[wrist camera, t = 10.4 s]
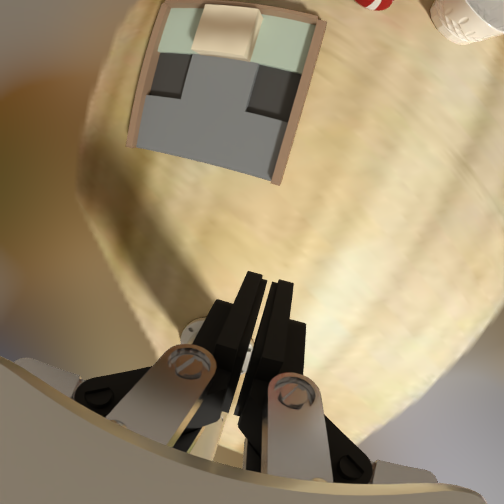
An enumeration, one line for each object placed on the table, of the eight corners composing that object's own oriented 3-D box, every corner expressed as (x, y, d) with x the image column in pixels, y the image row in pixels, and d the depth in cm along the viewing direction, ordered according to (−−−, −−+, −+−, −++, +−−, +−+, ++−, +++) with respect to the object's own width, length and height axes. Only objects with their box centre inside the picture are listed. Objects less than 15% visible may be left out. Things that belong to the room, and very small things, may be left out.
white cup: (485, 46, 19) (527, 33, 10) (444, 52, 21) (484, 34, 13) (457, -4, 16) (490, -29, 8) (414, -1, 19) (442, -33, 10)
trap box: (281, 182, 33) (278, 187, 30) (134, 145, 34) (121, 147, 31) (326, 27, 24) (327, 18, 21) (169, 7, 25) (158, 0, 23)
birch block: (250, 61, 27) (244, 55, 24) (200, 55, 27) (190, 49, 24) (263, 18, 24) (258, 8, 21) (213, 12, 24) (205, 4, 22)
